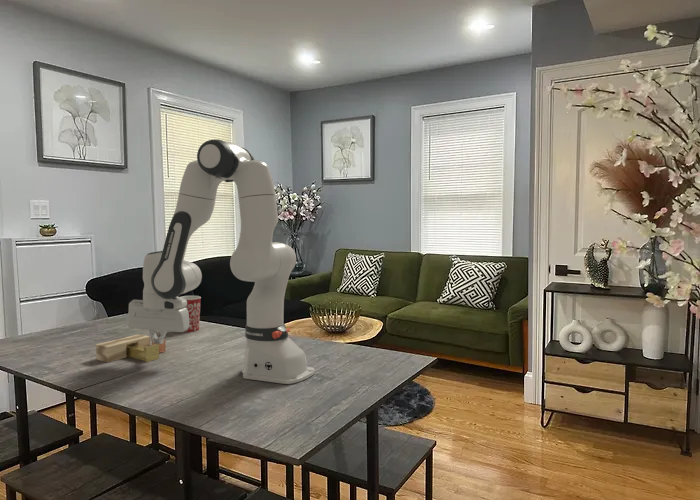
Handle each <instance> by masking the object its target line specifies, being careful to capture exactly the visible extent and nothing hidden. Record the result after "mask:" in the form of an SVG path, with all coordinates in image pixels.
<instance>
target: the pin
mask: <svg viewBox="0 0 700 500" xmlns="http://www.w3.org/2000/svg"><path fill="white" fill-rule="evenodd" d="M126 357H128V358H132V359H135V360H136V359H137V360H140V361H143V362H144V363H149V362H153V361H156V360H159V359H160V353H159V344H154V345H152V344H150V346H146V347H142V346H138V345H133V344H127V345H126Z"/></svg>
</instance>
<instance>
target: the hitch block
mask: <svg viewBox="0 0 700 500" xmlns="http://www.w3.org/2000/svg"><path fill="white" fill-rule="evenodd" d="M127 344H133V345H138V346H142V347H146V346H150V345H151V335H150V336H149V335H145V334H135V335H129V336H125V337H121V338H117V339H113V340H110V341H109V340H108V341H104V342H100V343H96V344H95V355H96V356H95V357H96V358H95V360H96V361H100V362H101V361H102V362H105V363H111V362H113V361H114V362H115V361H117V360H118V361H119V360H122V359H125V358H127V356H126V345H127Z"/></svg>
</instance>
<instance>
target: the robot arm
mask: <svg viewBox="0 0 700 500" xmlns="http://www.w3.org/2000/svg"><path fill="white" fill-rule="evenodd" d="M222 182H225V183H232V182H234V183H235V185H236V189H237V197H238V198H237V199H238V207H239V216H240V233H239V238H238V244H237V246H236V249H235V250H234V252H232V254H231V257H230V260H229V267H230V270H231V273H232V274H233V276H234V277H235V278H236V279H238V280H240V281H243V282H251V283H254V285H253V287H252V290H251V292H250V293H249V295H248V297H247V299H246V324H245V326H244V327H245V329H244V333H245V338H246V339H245V340H246V343H245V350H244V351H245V353H244V359H243V364H242V368H241V373H242V379H243V380H244V379H245V380H254V381H260V382H261V381H262V382H266V383H267V382H269V383H276V384H283V385H291V384H296V383H299V382H302V381H304V380H306V379H308V378H310V377H311V376H313V375H314V374H315V368H314V367H311V366H308V363H307V356H306V353H305V351H304V350H303V349H302V348H301V347H300V346H298V344H296V342H294V341H293V340H292V339H291V338H290V336H289V333H290V332H292V330H291V329H292V328H291V327H289V328H287V327H286V325H285V323H284V314H285V313H284V310H285V307H284V306H285V295H286V290H287V285H288V281H289V278H290V275H291V273H292V271H293V269H295V266H296V264H297V254H296V252H295V250H294V249H293V247H291V246H290V245H288V244H286V243H282V242H278V241H275V242H273V235H274V230H275V228H276V227H277V225H278V222H279V212H278V204H277V197H276V189H275V186H274V185H275V183H274V181H273V176H272V172H271V171H270V167H269V165H268V164H267V163H266V162H264V161H261V160H256V159H255V158H254V155H253V154H252V153H251V152H250V151H249V150H247V149H246V148H244V147H241V146H240V145H238V144H236V143H233V142H229V141H226V140H225V141H224V140H223V139H208V140H206V141H204V142H203V143H201V145H199V148H198V150H197V154H196V160H193V161H190V162H189V163H188V164H187V166H186V167H185V169H184V173H183V176H182V178H181V182H180V185H179V186H180V187H179V191H178V196H177V201H176V205H175V210H174V213H173V215H172V218H171V220H170V224H169V225H168V230H167V234H166V237H165V241H164V244H163V248H162V250H160V251H159V250H158V251H153V252H148V253H146V255H145V256H144V259H143V265H142V281H143V284H144V285H143V290H142V299H132V300H130V302H129V303H128V313H127V321H126V322H127V323H126V324H127V327H128V328H129V329H135V330H137V329H138V330H139V329H140V330H148V333H149V335H150V338H152V339H153V343H154V344H163V343H164V340H165V337H166V335H167V333H168V332H173V333H174V332H175V333H184V331H186V330H187V329H188V328H189V313H188V310H187V309H186V308H185V306H187V301H186V300H185V299H182V298H180V297H181V296H180V295H183V294H186V293H188V292H191V291H193V290H195V289H197V288H198V287H199V286H200V285H201V283H202V280H203V273H202V270H201V269H200V268H201V267H199V265H197V264H196V263H195V262H191V261H188V260H185V256H186V251H187V247H188V243H189V240H190V238H191V237H192V235H193V234H194V233H195V232H196V231H197V230H198V229H199V228H200V227H202V226H203V225H205V224H207V222H209V221H210V219H211V218H212V215H213V213H214V209H215V204H216V198H217V191H218V188H219V186H220V185H221V183H222ZM157 331H159V334H160V336H158V335H157V333H156V332H157Z"/></svg>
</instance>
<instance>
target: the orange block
mask: <svg viewBox="0 0 700 500" xmlns="http://www.w3.org/2000/svg"><path fill="white" fill-rule="evenodd" d="M151 345H154V343H153V338H152V339H151ZM164 352H167V351H166V339H164V343H163V344H159V354H160V353H164Z"/></svg>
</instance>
